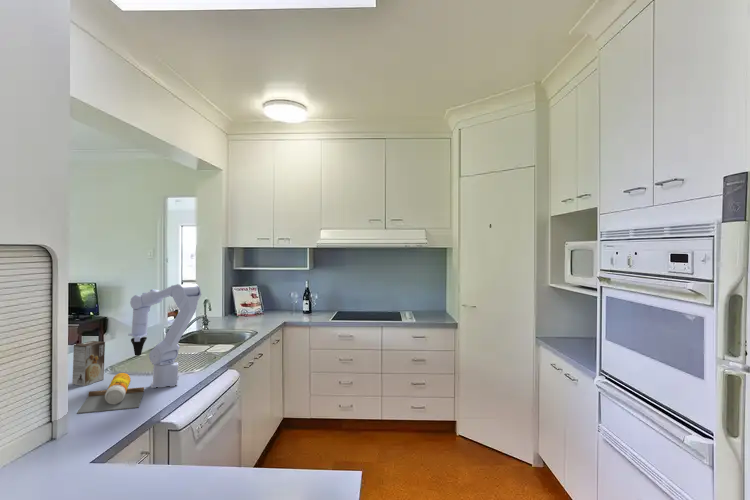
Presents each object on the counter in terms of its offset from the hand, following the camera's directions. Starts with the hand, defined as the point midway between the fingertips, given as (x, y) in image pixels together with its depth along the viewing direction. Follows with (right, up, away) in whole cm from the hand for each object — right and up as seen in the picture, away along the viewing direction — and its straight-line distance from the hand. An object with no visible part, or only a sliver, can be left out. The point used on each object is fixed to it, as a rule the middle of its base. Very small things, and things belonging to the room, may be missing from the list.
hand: (137, 355), depth 176 cm
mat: (+6, -10, -27) cm, 30 cm away
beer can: (+3, -5, -16) cm, 17 cm away
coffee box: (-17, -10, -6) cm, 21 cm away
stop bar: (+3, -10, -19) cm, 22 cm away
